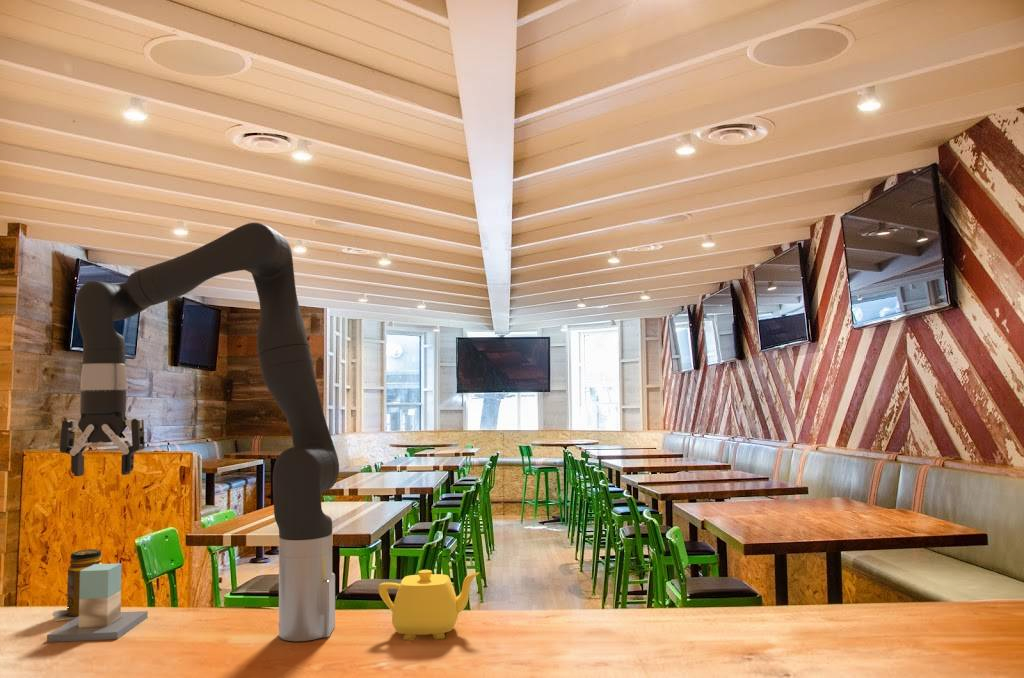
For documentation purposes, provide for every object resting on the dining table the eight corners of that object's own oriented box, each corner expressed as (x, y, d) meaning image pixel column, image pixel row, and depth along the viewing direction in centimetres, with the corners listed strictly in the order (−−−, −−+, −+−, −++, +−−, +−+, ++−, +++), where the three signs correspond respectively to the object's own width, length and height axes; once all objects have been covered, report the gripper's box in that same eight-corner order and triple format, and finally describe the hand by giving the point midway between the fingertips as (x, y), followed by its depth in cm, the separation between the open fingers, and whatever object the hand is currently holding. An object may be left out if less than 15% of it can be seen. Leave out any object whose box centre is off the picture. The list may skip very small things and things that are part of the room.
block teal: (120, 590, 136) (121, 563, 136) (107, 598, 131) (108, 570, 131) (93, 591, 136) (94, 564, 136) (79, 599, 131) (79, 571, 131)
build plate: (147, 617, 139) (147, 611, 139) (117, 639, 127) (117, 632, 127) (83, 619, 138) (83, 613, 138) (46, 641, 126) (47, 634, 126)
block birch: (120, 617, 135) (120, 590, 136) (107, 626, 130) (107, 598, 131) (93, 618, 135) (93, 591, 135) (78, 627, 130) (79, 599, 131)
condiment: (105, 614, 142) (106, 552, 143) (54, 622, 137) (56, 558, 138) (102, 605, 148) (103, 545, 149) (53, 613, 143) (55, 551, 144)
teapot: (480, 620, 133) (479, 561, 134) (479, 641, 122) (478, 577, 123) (383, 623, 133) (382, 564, 134) (373, 645, 122) (373, 580, 123)
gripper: (151, 387, 140) (150, 471, 139) (75, 388, 139) (73, 473, 138) (133, 387, 132) (132, 476, 131) (53, 389, 131) (51, 478, 130)
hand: (102, 475), depth 135 cm, fingers open, 8 cm apart
